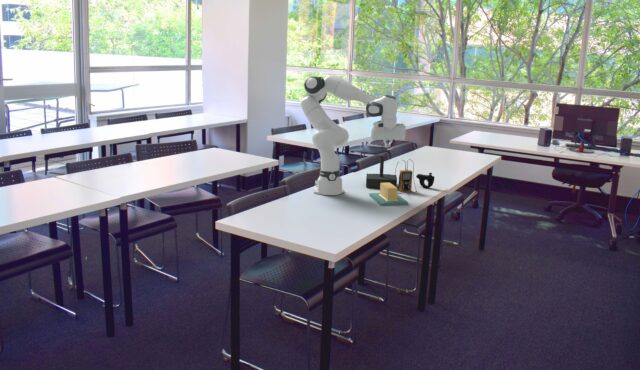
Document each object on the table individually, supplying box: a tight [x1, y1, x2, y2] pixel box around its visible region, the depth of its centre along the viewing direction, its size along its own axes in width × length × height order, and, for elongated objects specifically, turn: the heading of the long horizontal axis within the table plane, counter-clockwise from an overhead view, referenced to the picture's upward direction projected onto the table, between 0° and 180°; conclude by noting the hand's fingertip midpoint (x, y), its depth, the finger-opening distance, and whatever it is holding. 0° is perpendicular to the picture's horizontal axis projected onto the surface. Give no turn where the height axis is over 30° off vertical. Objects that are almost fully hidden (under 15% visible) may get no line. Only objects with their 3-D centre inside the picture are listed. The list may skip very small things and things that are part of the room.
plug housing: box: [379, 183, 399, 200], centre depth 331 cm, size 14×6×7 cm, turn 13°
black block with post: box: [365, 154, 398, 189], centre depth 364 cm, size 19×17×20 cm
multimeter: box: [394, 158, 417, 195], centre depth 347 cm, size 15×10×20 cm
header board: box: [368, 192, 409, 207], centre depth 332 cm, size 22×16×6 cm
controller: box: [416, 172, 435, 189], centre depth 362 cm, size 4×12×10 cm, turn 48°
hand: (387, 147), depth 336 cm, fingers closed
